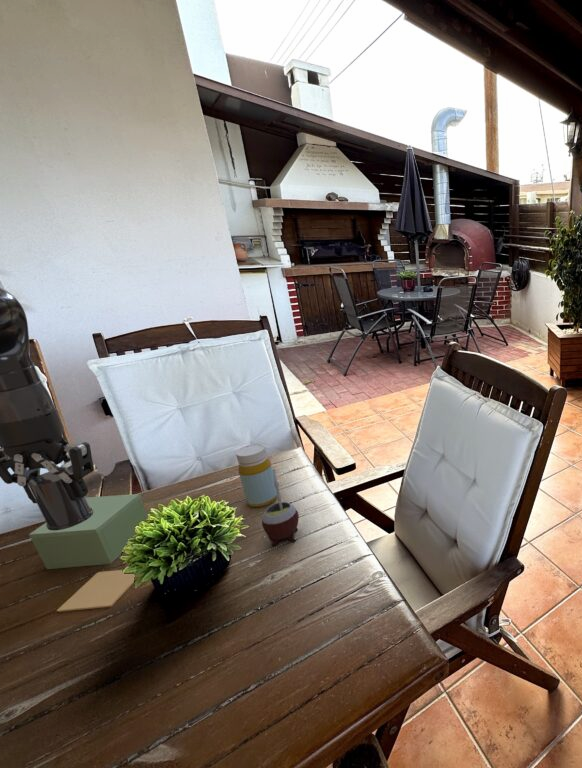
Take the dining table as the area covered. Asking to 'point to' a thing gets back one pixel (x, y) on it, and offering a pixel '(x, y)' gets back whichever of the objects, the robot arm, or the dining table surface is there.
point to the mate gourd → (280, 519)
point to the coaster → (99, 591)
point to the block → (92, 533)
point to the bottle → (256, 475)
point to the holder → (58, 502)
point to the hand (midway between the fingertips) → (61, 498)
